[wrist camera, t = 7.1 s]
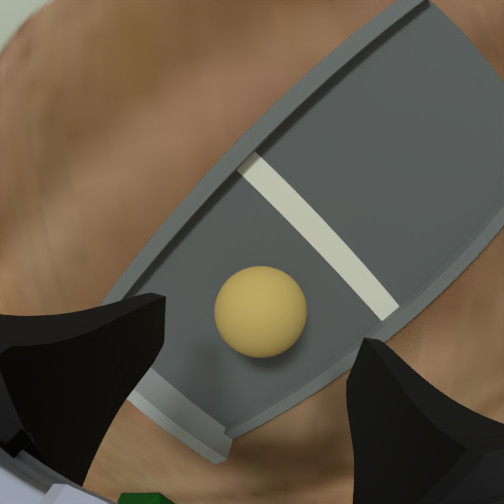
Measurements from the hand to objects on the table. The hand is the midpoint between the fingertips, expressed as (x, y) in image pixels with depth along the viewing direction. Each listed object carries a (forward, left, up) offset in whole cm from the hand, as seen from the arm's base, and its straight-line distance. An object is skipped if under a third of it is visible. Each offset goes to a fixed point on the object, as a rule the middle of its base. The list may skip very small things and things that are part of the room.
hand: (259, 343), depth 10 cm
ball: (0, 0, -3) cm, 3 cm away
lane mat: (0, -4, -6) cm, 7 cm away
